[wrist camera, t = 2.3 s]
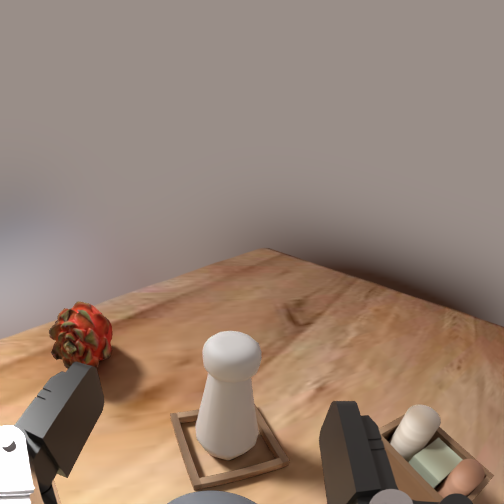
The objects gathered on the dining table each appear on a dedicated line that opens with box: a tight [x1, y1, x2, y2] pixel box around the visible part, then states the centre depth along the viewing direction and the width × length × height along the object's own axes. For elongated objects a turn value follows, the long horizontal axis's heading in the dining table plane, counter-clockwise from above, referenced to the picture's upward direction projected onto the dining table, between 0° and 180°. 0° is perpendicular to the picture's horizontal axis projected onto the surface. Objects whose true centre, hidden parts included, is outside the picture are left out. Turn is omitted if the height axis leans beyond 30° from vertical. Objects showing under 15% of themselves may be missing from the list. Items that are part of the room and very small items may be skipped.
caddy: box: [379, 405, 494, 502], centre depth 17 cm, size 6×11×9 cm, turn 23°
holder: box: [170, 404, 290, 490], centre depth 26 cm, size 9×9×1 cm
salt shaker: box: [196, 331, 262, 461], centre depth 24 cm, size 6×6×13 cm
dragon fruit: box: [49, 302, 112, 369], centre depth 33 cm, size 8×8×12 cm
